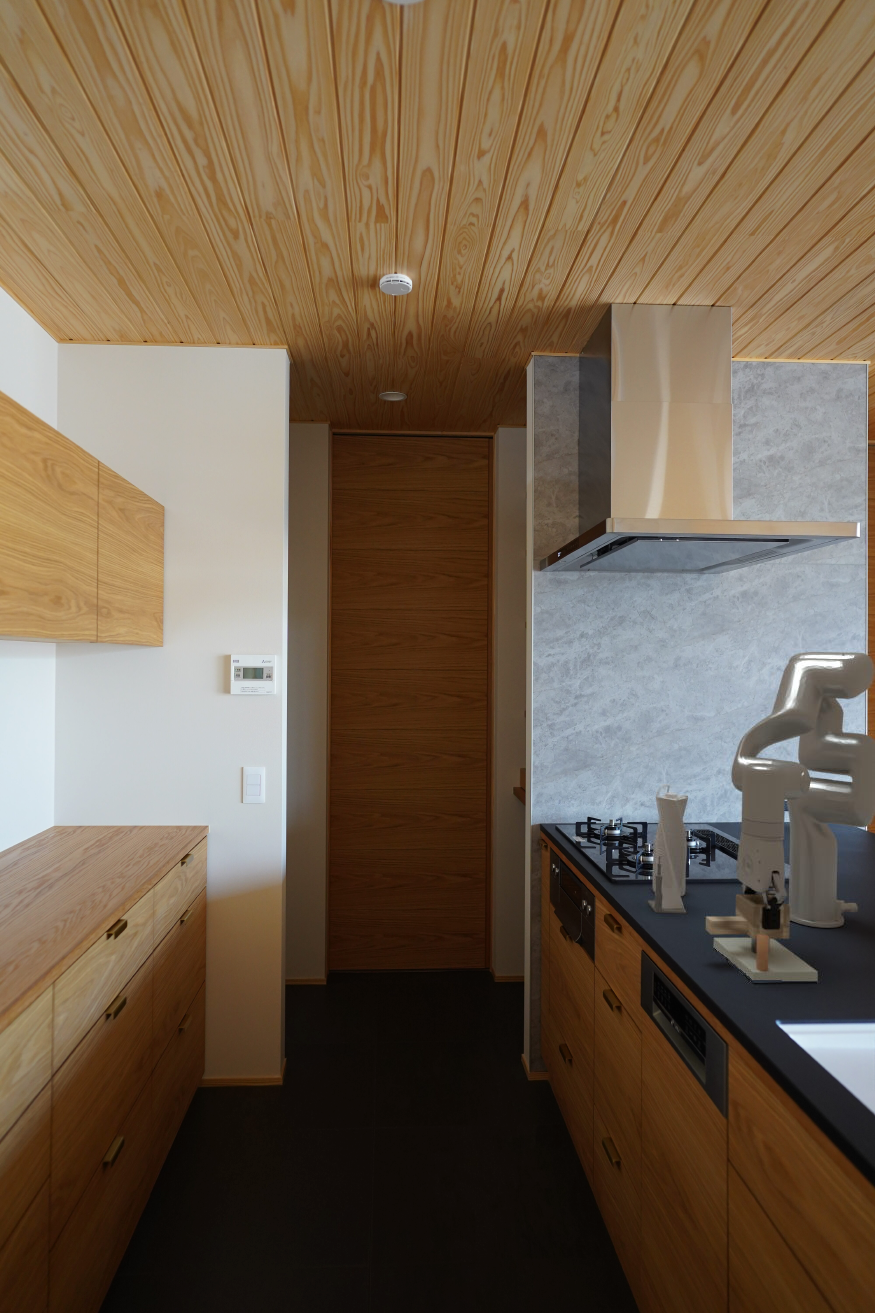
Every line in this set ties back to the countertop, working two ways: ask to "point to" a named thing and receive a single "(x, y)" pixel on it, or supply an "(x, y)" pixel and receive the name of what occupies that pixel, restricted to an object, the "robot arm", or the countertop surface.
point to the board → (780, 961)
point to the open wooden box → (749, 919)
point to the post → (755, 945)
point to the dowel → (762, 952)
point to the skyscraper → (670, 853)
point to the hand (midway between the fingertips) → (760, 921)
